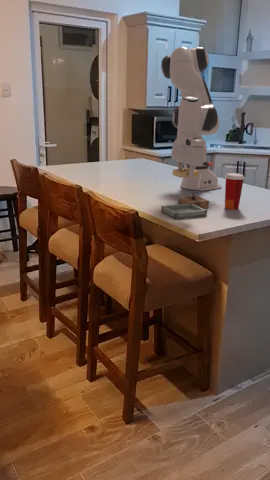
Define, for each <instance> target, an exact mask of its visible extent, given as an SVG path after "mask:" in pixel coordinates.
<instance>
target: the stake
mask: <svg viewBox="0 0 270 480" xmlns="http://www.w3.org/2000/svg"><path fill="white" fill-rule="evenodd" d="M187 194H189V195H191V196H192V199H193V200H194V199H195V196H196V194H199V190H191V191H188V192H187Z"/></svg>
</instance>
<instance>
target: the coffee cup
mask: <svg viewBox="0 0 270 480" xmlns="http://www.w3.org/2000/svg"><path fill="white" fill-rule="evenodd" d="M224 178H225V187H224V188H225V189H224V190H225V192H224V194H225V195H224V208H225V209H227V210H234V211H235V210H236V211H237V210H239V207H240V201H241V197H242V192H243V191H242V190H243V184H244V179H245V176H244V175H243V174H242V173H235V172H234V173H233V172H228V173H226V175H225V177H224Z"/></svg>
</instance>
